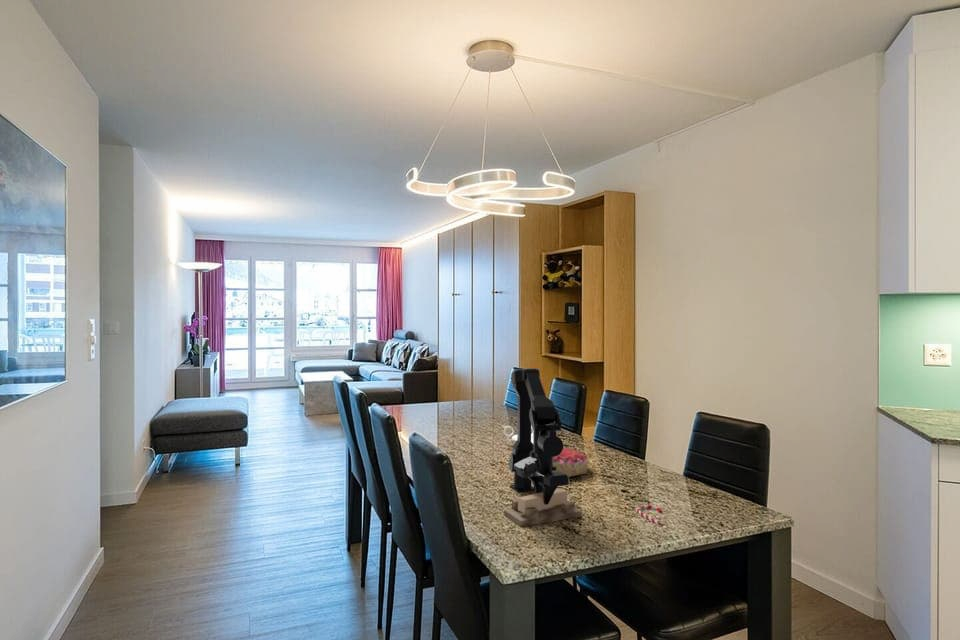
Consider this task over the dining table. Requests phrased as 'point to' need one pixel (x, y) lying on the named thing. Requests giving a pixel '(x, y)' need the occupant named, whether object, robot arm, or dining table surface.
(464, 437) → the dining table surface
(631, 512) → the dining table surface
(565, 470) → the cake
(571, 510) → the tabbed beige plate
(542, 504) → the clay strip
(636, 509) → the candy cane
